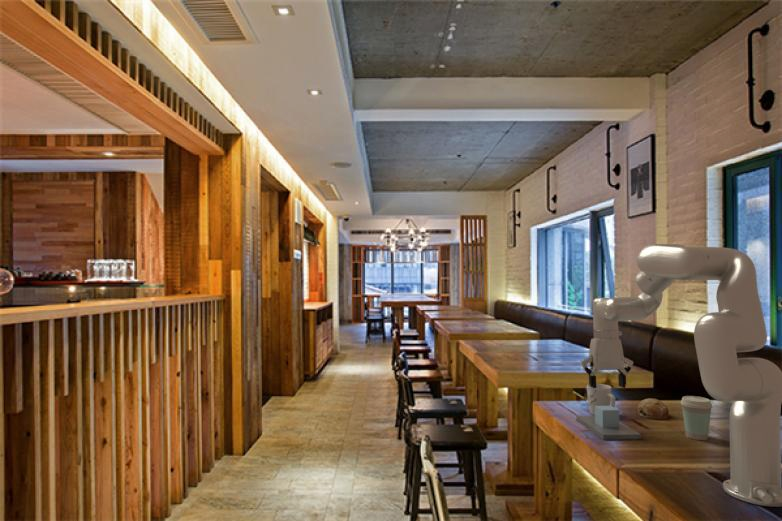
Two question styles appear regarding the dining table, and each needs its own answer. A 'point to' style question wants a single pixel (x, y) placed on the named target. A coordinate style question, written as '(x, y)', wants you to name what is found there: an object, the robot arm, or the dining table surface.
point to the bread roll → (653, 409)
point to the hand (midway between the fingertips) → (607, 387)
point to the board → (608, 429)
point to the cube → (607, 416)
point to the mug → (600, 396)
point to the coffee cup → (696, 416)
